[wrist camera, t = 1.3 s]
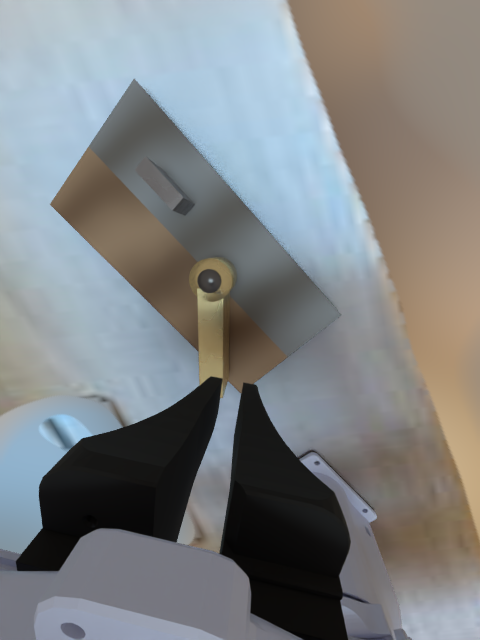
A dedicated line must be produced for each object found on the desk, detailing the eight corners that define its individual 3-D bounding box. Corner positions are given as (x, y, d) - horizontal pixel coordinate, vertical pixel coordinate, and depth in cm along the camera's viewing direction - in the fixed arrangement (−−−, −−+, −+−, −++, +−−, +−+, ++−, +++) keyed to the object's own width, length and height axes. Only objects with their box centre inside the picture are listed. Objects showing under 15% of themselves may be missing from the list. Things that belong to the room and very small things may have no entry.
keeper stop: (195, 204, 17) (183, 197, 14) (185, 215, 17) (172, 210, 15) (162, 169, 16) (145, 155, 14) (153, 181, 16) (134, 170, 14)
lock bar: (200, 256, 17) (186, 257, 14) (237, 257, 17) (231, 259, 14) (203, 375, 20) (191, 397, 17) (234, 378, 20) (229, 401, 17)
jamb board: (337, 310, 19) (341, 314, 18) (242, 385, 21) (240, 393, 20) (143, 90, 16) (134, 78, 15) (63, 207, 19) (49, 204, 18)
